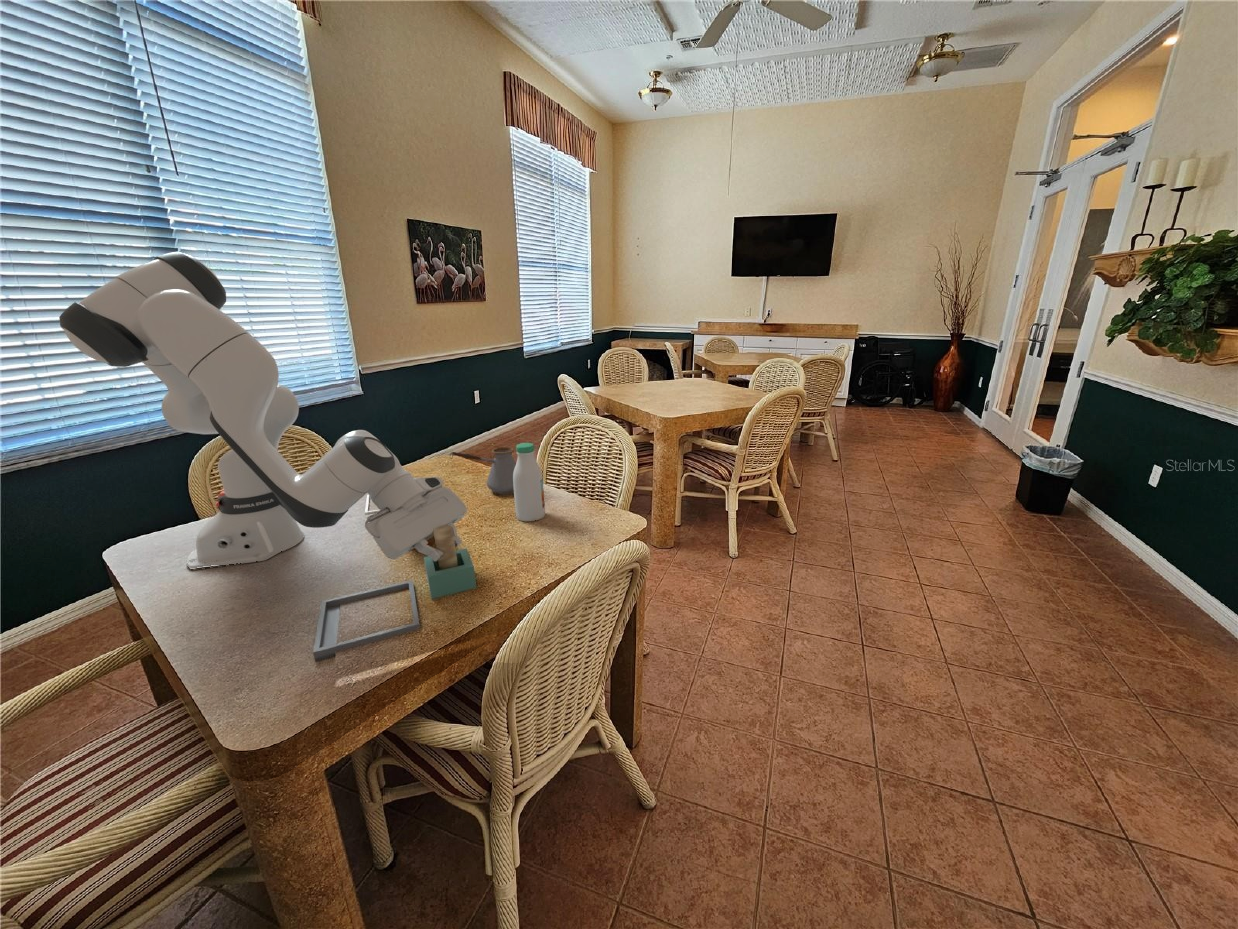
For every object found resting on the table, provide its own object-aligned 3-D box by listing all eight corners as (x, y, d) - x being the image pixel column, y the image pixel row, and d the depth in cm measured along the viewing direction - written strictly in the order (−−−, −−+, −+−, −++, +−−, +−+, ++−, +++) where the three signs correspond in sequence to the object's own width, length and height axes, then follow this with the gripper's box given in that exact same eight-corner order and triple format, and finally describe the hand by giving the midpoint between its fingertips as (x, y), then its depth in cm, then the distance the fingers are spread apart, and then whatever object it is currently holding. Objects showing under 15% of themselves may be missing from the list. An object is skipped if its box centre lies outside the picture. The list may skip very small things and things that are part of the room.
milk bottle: (540, 523, 128) (534, 449, 122) (512, 521, 129) (505, 448, 123) (549, 511, 135) (544, 441, 129) (522, 509, 136) (515, 440, 130)
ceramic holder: (432, 602, 95) (427, 577, 93) (427, 581, 102) (423, 557, 100) (477, 591, 98) (473, 566, 96) (469, 571, 105) (466, 548, 104)
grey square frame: (315, 661, 80) (313, 652, 79) (323, 609, 93) (321, 601, 93) (420, 632, 86) (419, 624, 85) (413, 587, 100) (412, 580, 99)
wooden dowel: (443, 589, 98) (434, 534, 94) (441, 580, 101) (432, 527, 97) (461, 584, 99) (453, 530, 95) (458, 576, 102) (451, 523, 98)
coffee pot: (516, 480, 159) (512, 435, 154) (531, 491, 150) (527, 443, 145) (449, 495, 147) (443, 447, 143) (462, 508, 138) (455, 457, 134)
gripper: (366, 511, 87) (418, 569, 87) (444, 474, 105) (487, 522, 105) (352, 530, 90) (402, 586, 90) (431, 491, 108) (473, 538, 108)
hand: (449, 551), depth 97 cm, fingers open, 4 cm apart
